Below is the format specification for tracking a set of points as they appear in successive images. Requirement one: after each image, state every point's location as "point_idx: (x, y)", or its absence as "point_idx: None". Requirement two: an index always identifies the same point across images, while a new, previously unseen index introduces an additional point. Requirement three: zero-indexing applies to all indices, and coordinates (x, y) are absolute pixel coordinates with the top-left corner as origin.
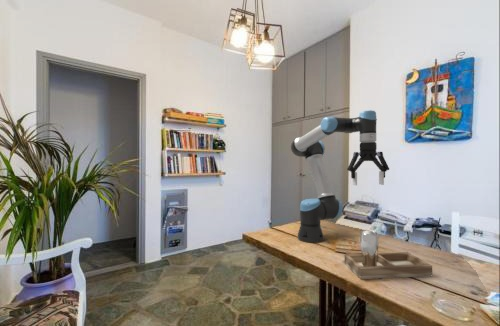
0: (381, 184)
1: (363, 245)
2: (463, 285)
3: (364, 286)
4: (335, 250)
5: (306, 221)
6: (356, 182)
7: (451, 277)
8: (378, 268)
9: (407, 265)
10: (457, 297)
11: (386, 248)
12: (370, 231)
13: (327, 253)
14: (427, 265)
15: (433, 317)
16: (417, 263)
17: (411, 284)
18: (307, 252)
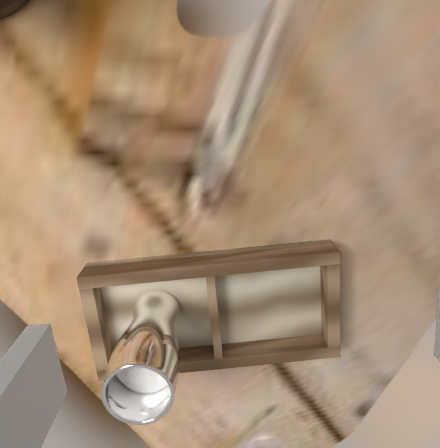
0: (435, 339)
1: (115, 375)
2: (371, 381)
3: None
4: (81, 131)
5: None
6: (43, 424)
7: (378, 343)
8: None
9: (262, 357)
10: (307, 428)
11: (327, 107)
12: (155, 370)
13: (38, 166)
14: (326, 356)
15: None
16: (323, 307)
17: (237, 380)
18: None
